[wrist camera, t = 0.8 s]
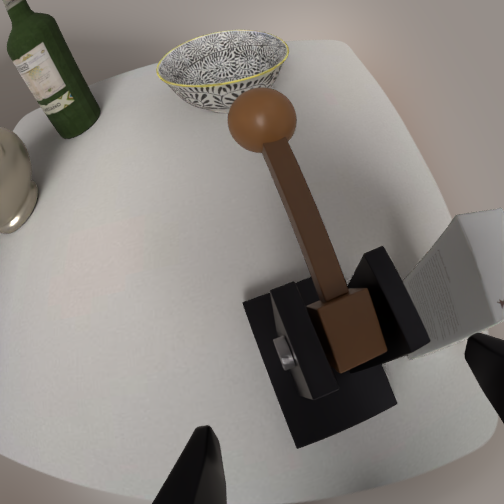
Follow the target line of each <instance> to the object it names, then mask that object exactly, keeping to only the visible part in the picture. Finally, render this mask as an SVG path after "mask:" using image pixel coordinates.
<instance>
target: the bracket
mask: <svg viewBox="0 0 504 504" xmlns="http://www.w3.org/2000/svg"><path fill="white" fill-rule="evenodd" d="M347 287H348V289H354V288H367V289H368V291H369V294H370V296H371V299H372V302H373V305H374V308H375V312H376V315H377V318H378V321H379V324H380V327H381V331H382V334H383V337H384V340H385V344H386V347H387V351H386V352H385V353H383V354H381V355H379V356H377V357H375V358H373V359H371V360H369V361H367V362H365V363H363V364H360V365H358V366H356V367H354V368H352V369H350V370H347V371H345V372H343V373H339V372H338V371H336V370H335V369H334V368H333V367H332V366H331V365H330V364H329V362H328V360H327V357H326V355H325V352H324V350H323V347H322V345H321V343H320V340H319V338H318V335H317V333H316V331H315V328H314V326H313V324H312V321H311V319H310V316H309V314H308V311H307V308H306V307H307V305H310V304H312V303H315V302H317V301H320V299H319V296H318V293H317V291H316V288H315V285H314V282H313V280H312V277H309V278H307V279H304V280H302V281H299V282H297V283H295V282H291V283H288V284H285V285H283V286H280V287H277V288H275V289H272V290H270V293H267V294H265V295H262V296H259V297H256V298H254V299H251V300H248V301H245V302H243V306H244V309H245V312H246V315H247V317H248V320H249V323H250V326H251V328H252V331H253V334H254V337H255V339H256V342H257V345H258V348H259V350H260V353H261V356H262V359H263V361H264V364H265V367H266V369H267V372H268V375H269V377H270V380H271V383H272V385H273V388H274V391H275V393H276V396H277V399H278V401H279V404H280V406H281V409H282V412H283V414H284V417H285V419H286V422H287V425H288V427H289V430H290V432H291V435H292V437H293V440H294V442H295V445H296V448H297V449H298V448H301V447H304V446H307V445H309V444H312V443H314V442H317V441H320V440H322V439H325V438H327V437H329V436H332V435H334V434H337V433H339V432H341V431H344V430H346V429H348V428H350V427H352V426H355V425H357V424H359V423H361V422H363V421H365V420H367V419H369V418H371V417H373V416H375V415H377V414H379V413H381V412H383V411H385V410H387V409H389V408H391V407H393V406H394V405H396V404H397V401H396V399H395V396H394V394H393V391H392V389H391V386H390V384H389V381H388V379H387V376H386V374H385V371H384V369H383V367H382V364H383V363H386V362H389V361H392V360H394V359H397V358H400V357H403V356H405V355H408V354H410V353H413V352H415V351H416V350H418V349H420V348H421V347H423V346H425V345H426V344H428V343H430V341H431V340H430V338H429V336H428V333H427V331H426V329H425V327H424V324H423V322H422V320H421V318H420V316H419V314H418V312H417V310H416V307H415V305H414V303H413V301H412V299H411V297H410V295H409V293H408V291H407V289H406V287H405V285H404V283H403V281H402V280H401V278H400V276H399V274H398V272H397V270H396V268H395V266H394V265H393V263H392V261H391V259H390V257H389V255H388V254H387V252H386V250H385V248H384V247H383V246H381V247H379V248H376V249H374V250H372V251H369V252H367V253H364V254H363V256H362V258H361V261H360V263H359V265H358V267H357V269H356V271H355V272H354V274H353V276H352V278H351V280H350V282H349V284H348V286H347Z"/></svg>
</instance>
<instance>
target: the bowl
mask: <svg viewBox="0 0 504 504" xmlns="http://www.w3.org/2000/svg"><path fill="white" fill-rule="evenodd" d="M288 53H289V49H288V46H287V44H286V43H285V42H284V41H283V40H281V39H280V38H278V37H277V36H274V35H272V34H269V33H265V32H260V31H253V30H229V31H221V32H216V33H211V34H207V35H203V36H200V37H197V38H194V39H192V40H189V41H187V42H185V43H183V44H181V45H179V46H177V47H176V48H174V49H172V50H171V51H170V52H168V53H167V54H166V55H165V56H164V57H163V58H162V59H161V60H160V62H159V63H158V66H157V69H156V71H157V75H158V77H159V78H160V79H161V80H162V81H164V82H165V83H166V84H168V85H169V86H170V87H171V88H172V90H173V91H174V92H175V93H176V94H177V95H178V96H179V97H180V98H182V99H183V100H184V101H186V102H187V103H189V104H191V105H193V106H196V107H199V108H202V109H208V110H210V111H213V112H217V113H229V110H230V107H231V105H232V103H233V102H234V101H235V99H236V98H237V97H238V96H239V95H241V94H242V93H244V92H245V91H248V90H250V89H253V88H260V87H264V88H271V86H272V85H273V83H274V82H275V80H276V78H277V76H278V74H279V71H280V68H281V66H282V64H283V63H284V61H285V60H286V58H287V56H288Z"/></svg>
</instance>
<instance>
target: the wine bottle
mask: <svg viewBox="0 0 504 504" xmlns="http://www.w3.org/2000/svg"><path fill="white" fill-rule="evenodd" d="M3 2H4V4H5V7H6V10H7V12H8V14H9V17H10V19H11V21H12V30H11V33H10V36H9V39H8V42H7V51H8V54H9V56H10V57H11V59H12V61H13V63H14V64H15V66H16V68H17V69H18V71H19V73H20V74H21V76H22V78H23V79H24V81H25V83H26V84H27V86H28V88H29V89H30V91H31V92H32V94H33V95H34V97H35V99H36V100H37V102H38V103H39V105H40V106H41V108H42V109H43V111H44V112H45V114H46V115H47V117H48V118H49V120H50V121H51V123H52V124H53V126H54V127H55V129H56V130H57V132H58V133H59V134H60V136H61V137H63V138H64V139H70V138H74V137H76V136H78V135H80V134H82V133H83V132H85V131H86V130H87V129H89V128H90V127H91V126H92V125H93V124H94V123H95V122H96V120H97V119H98V117H99V115H100V108H99V106H98V104H97V102H96V100H95V98H94V96H93V95H92V93H91V91H90V89H89V87H88V85H87V83H86V82H85V80H84V78H83V76H82V74H81V72H80V70H79V68H78V66H77V64H76V62H75V60H74V58H73V56H72V54H71V52H70V50H69V48H68V46H67V44H66V42H65V40H64V38H63V35H62V33H61V31H60V29H59V27H58V25H57V23H56V21H55V19H54V18H53V17H52V16H50V15H48V14H43V13H34V12H33V11H32V10H31V9H30V7H29V5H28V4H27V1H26V0H3Z"/></svg>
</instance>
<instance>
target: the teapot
mask: <svg viewBox="0 0 504 504" xmlns="http://www.w3.org/2000/svg"><path fill="white" fill-rule="evenodd" d="M31 175H32V169H31V161H30V156H29V153H28V151H27V148H26V146H25V145H24V143H23V142H22V140H21V139H20V138H19V137H18V136H17V135H16V134H15V133H13V132H12V131H10V130H8V129H6V128H3V127H0V232H1V233H3V234H9V233H12V232H14V231H16V230H17V229H18V228H19V227H21V226H22V225H23V224H24V222H25V221H26V220H27V219H28V217H29V216H30V214H31V213H32V211H33V209H34V206H35V204H36V201H37V197H38V188H37V185H36V183H35V182H34V181H33V180H31Z"/></svg>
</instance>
